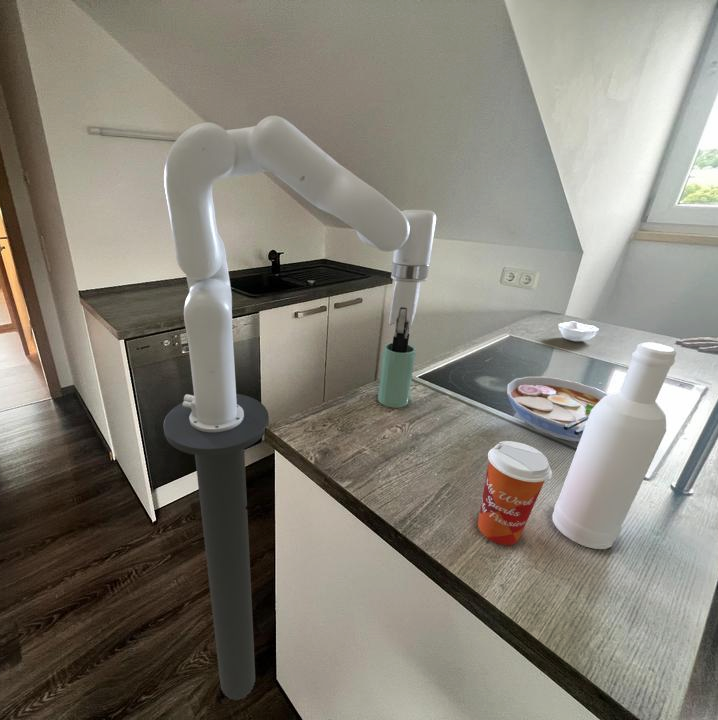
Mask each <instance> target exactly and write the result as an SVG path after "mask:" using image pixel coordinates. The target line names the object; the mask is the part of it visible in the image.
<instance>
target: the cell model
mask: <svg viewBox="0 0 718 720" xmlns="http://www.w3.org/2000/svg"><path fill="white" fill-rule="evenodd" d="M557 326H558V330H559V332H560V334H561V336H562V338H564V339H566V340H568V341H571V342H583V341H589V340H591V339H592V338H594V337H596V336H597V334H598V332H599V328H598V327H596V326H594V325H590V324H586V323H581V322H577V321H575V320H574V321H567V322H560V323H558V324H557Z"/></svg>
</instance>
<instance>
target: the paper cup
mask: <svg viewBox="0 0 718 720" xmlns="http://www.w3.org/2000/svg"><path fill="white" fill-rule="evenodd" d="M487 458H488V464H487V469H486V473H485V479H484V480H485V481H484V486H483V492H482V497H481V503H480V509H479V513H478V514H479V515H478V521H477V525H478V529H479V531H480V533H481V534H482V535H483V536H484V537H485V538H487V539H488V540H490V541H491V542H492V543H495V544H498V545H500V546H501V545H502V546H511V545H514V544H517V542H518V541H519V539H520V538H521V535H522V534H523V531H524V529H525V527H526V524H527V522H528V520H529V517H530V515H531V513H532V511H533V509H534V506H535V504H536V503H537V500H538V497H539V495H540V493H541V491H542V488H543V486H544V484H545V482H546V481H547V480H550V479H551V478H552V477H553V471H552V470H551V465H550V463H549V460H548V458H547V457H546V455H545V454H544V453H542V452H541V451H539V450H538V449H536V448H535V447H533V446H532V445H528V444H526V443H523V442H519V441H512V440H504V441H500V442H498V443H497V444H496V445H495V446H493V447H492V448H491V449H489V451H488V453H487Z"/></svg>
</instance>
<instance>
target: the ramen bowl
mask: <svg viewBox="0 0 718 720" xmlns="http://www.w3.org/2000/svg"><path fill="white" fill-rule="evenodd" d="M506 394H507V396H508V400H509V402H510V404H511V406H512V408H513V409H514V411H515V412H516V413H517V415H518V416H519V417H520V418H521V419H522V420H523V421H524V422H525V423H527V424H528V425H529V426H531V427H532V428H534V429H536V430H538V431H539V432H541V433H543V434H546V435H548V436H551V437H554V438H557V439H561V440H565V441H570V442H575V443H576V442H577V443H579V442H580V439H581V436H582V434H583V431H584V428H585V426H586V423H587V420H588V417H589V415H590V412H591V410H592V409H593V407H594V406H595V405H596V404H597V403H598V402H599V401H600V400H601V399H602V398H603V397H604V396H607V395H610V393H608V392H606V391H603V390H601V389H599V388H596V387H594V386H593V387H592V386H590V385H586V384H583V383H580V382H576V381H573V380H568V379H563V378H556V377H551V376H524V377H518V378H515V379H512V381H510V382H509V383H507V386H506Z"/></svg>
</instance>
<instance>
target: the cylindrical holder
mask: <svg viewBox="0 0 718 720" xmlns="http://www.w3.org/2000/svg"><path fill="white" fill-rule="evenodd" d="M392 345H393V341H392V342H387V343H385V344H384V345H383V348H382V358H381V366H380V367H381V368H380V376H379V385H378V392H377V393H378V394H377V395H378V396H377V401H378V402H379V403H380V404H381V405H382V406H385V407H388V408H393V409H399V408H400V409H401V408H405V407H406V406H407V405H408V404H409V400H410V391H411V386H412V379H413V372H414V365H415V358H416V353H417V348H416V346H414V345H412V344H410V343H408V348H407V351H406V353H399V352H394V351H392Z"/></svg>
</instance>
